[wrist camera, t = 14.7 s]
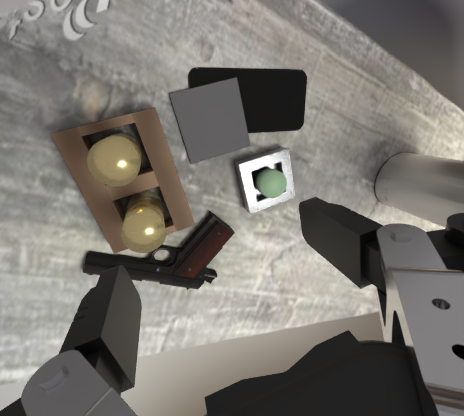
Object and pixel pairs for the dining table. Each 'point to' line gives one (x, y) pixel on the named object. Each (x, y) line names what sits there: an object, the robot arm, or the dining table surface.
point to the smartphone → (263, 95)
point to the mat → (211, 119)
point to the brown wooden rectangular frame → (106, 197)
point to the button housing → (251, 168)
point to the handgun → (172, 258)
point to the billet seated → (144, 223)
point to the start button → (271, 183)
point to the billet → (115, 159)
